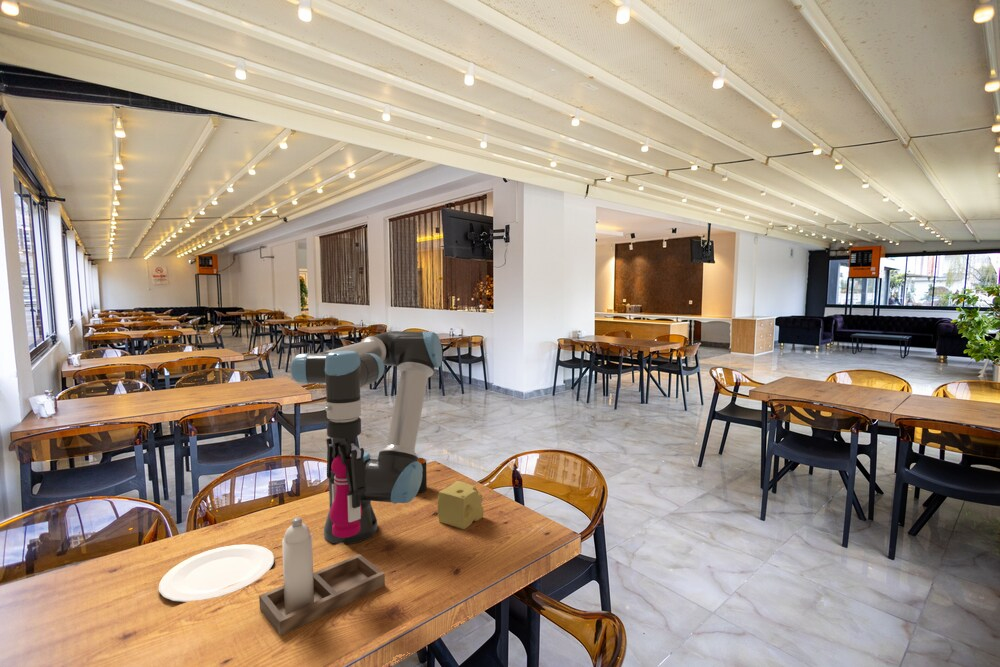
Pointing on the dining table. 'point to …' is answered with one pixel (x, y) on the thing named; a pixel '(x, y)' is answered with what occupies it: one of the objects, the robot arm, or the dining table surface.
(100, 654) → the dining table surface
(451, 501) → the cheese
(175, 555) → the dining table surface
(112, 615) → the dining table surface
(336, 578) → the wooden compartment tray
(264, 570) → the plate
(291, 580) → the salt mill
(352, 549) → the dining table surface
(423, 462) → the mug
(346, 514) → the pepper mill
